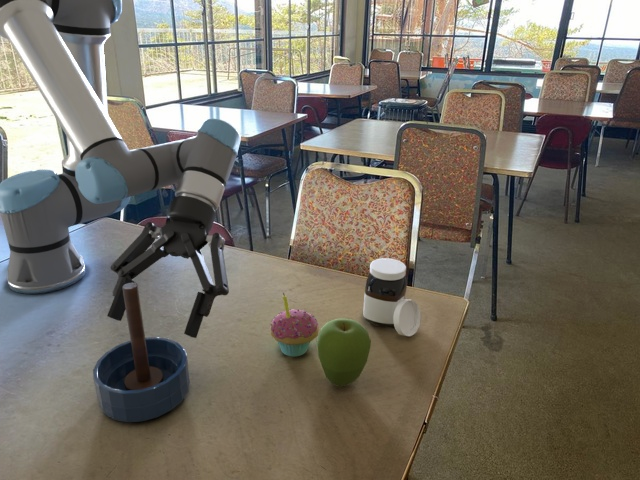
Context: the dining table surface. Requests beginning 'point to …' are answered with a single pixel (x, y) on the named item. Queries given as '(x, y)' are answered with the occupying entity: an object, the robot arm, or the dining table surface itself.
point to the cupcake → (294, 330)
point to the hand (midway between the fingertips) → (151, 327)
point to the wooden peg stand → (138, 344)
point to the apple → (343, 350)
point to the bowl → (148, 400)
